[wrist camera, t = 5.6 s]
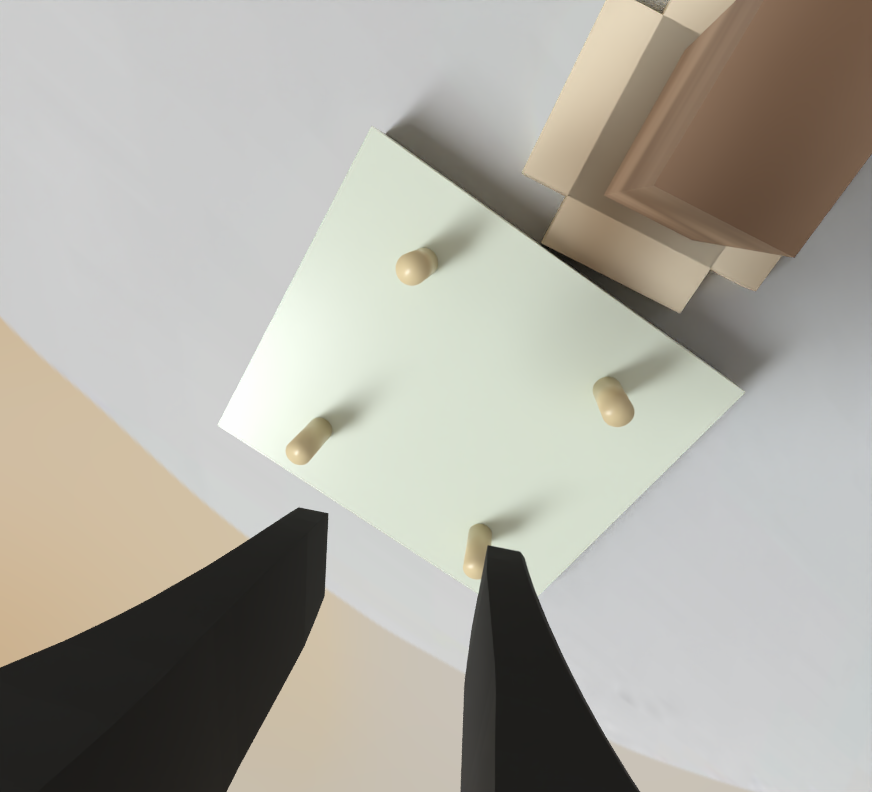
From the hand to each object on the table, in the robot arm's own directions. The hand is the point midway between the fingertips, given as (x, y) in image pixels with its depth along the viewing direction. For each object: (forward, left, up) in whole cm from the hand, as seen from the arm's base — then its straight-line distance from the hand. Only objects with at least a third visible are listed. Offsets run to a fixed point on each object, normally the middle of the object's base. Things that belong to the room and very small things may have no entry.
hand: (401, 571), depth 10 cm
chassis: (0, 0, -10) cm, 10 cm away
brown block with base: (-1, -10, -10) cm, 15 cm away
